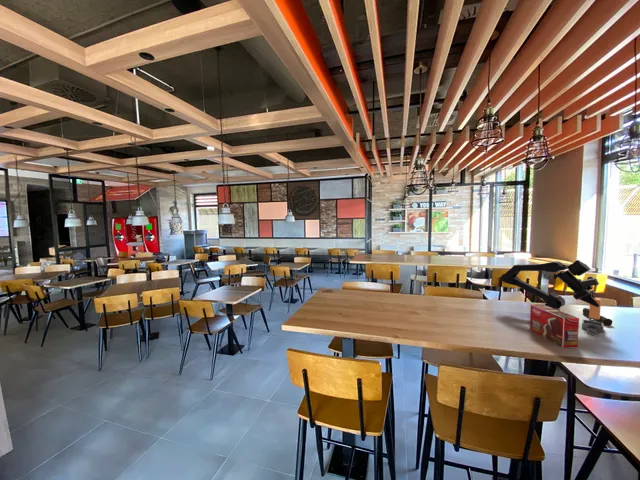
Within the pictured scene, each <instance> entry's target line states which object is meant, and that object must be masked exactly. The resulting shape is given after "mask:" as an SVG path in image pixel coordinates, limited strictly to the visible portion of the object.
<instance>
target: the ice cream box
mask: <svg viewBox="0 0 640 480" xmlns="http://www.w3.org/2000/svg"><path fill="white" fill-rule="evenodd" d="M529 310H530V315H529V330H530V331H532V332H533V333H535V334H537V335H539V336H541V337H543V338H545V339H547V340H548V341H550V342H552V343H554V342H555V343H556V344H555V343H554V344H555V345H557V344H558V346H559V345H560V346H559V347H561V346H562V347H561V348H569V347H578V346H579V345H578V344H579V327H580V325H579V324H580V317H576V316H574V315H571V314H569V313H566V312H564V311H561V310H560V309H559V310H560V311H559V310H556V309H554V308H551V307H549V306H546V305H545V304H542V303H541V304H539V303H538V304H534V303H533V304H530V309H529ZM578 348H579V347H578Z"/></svg>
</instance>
